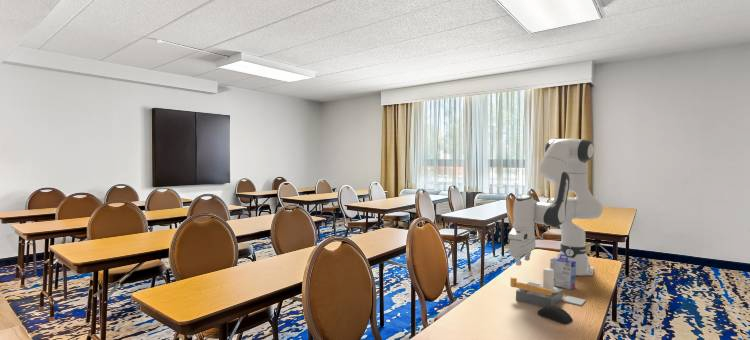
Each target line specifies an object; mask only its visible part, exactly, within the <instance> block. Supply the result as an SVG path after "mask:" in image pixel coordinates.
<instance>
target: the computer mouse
mask: <svg viewBox="0 0 750 340" xmlns="http://www.w3.org/2000/svg"><path fill="white" fill-rule="evenodd" d="M537 315H538V316H539V317H540V318H541V317H542V318H545V319H548V320H551V321H554V322H556V323H559V324H563V325H568V324H570V323H572V322H573V321H574V320H573V318H572V316H571V315H570V314H569V313H568V312H567V311H566V310H564V309H563V308H561V307H560V306H557V305H555V306H545V307H542V308H540V309H539V310H538V311H537Z"/></svg>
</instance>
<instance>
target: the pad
mask: <svg viewBox="0 0 750 340" xmlns="http://www.w3.org/2000/svg"><path fill="white" fill-rule="evenodd" d="M562 302H563V303H567V304H569V305H570V304H571V305H575V306H578V307H582V306H583V305H584V303H586V299H585V298H579V297H575V296H571V295H567V296H565V297H564V298H563V299H562Z"/></svg>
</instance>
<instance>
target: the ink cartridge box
mask: <svg viewBox="0 0 750 340" xmlns="http://www.w3.org/2000/svg"><path fill="white" fill-rule="evenodd" d="M561 256H565V257H567V258H562V257H561ZM549 261H550V262H549V268H550V269H553V270H554V287H559V288H561V289H567V290H572V289H575V288H576V276H577V275H576V262H575V261H570V260H568V255H563V254H561V255H560V258H557V257H553V258H551V259H550V260H549Z"/></svg>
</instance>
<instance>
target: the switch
mask: <svg viewBox="0 0 750 340" xmlns="http://www.w3.org/2000/svg"><path fill="white" fill-rule="evenodd" d="M526 284H529V285H532V286H536V287H538V286H540V285H542V284H540V283H536V282H531V281H528V282H527V283H526ZM557 288H558V287H557ZM563 290H564V288H560V287H559V288H558V293H554V294H552V295H551V296H550V295H546V294H542V293H537V292H533V291H529V290H524V289H520V288H517V289H516V290H515V300H516V301H517V302H523V303H525V304H529V305H534V306H538V307H542V308H544V307H545V306H557V304H559V302H560V301H563V299H564V298H563V297H564V296H563V295H564V294H563V293H564V291H563Z"/></svg>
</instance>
